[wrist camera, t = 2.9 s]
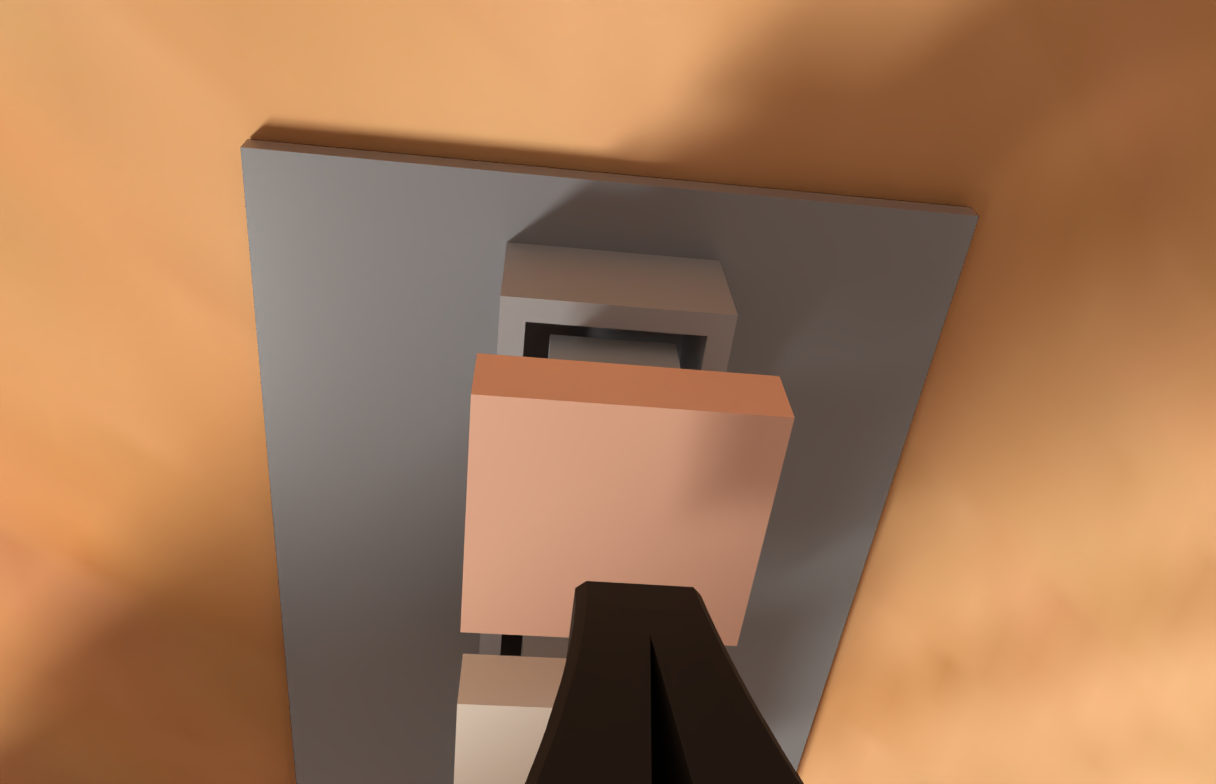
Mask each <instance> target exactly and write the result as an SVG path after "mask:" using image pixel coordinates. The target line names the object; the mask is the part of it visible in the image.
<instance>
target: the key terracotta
mask: <svg viewBox="0 0 1216 784" xmlns="http://www.w3.org/2000/svg"><path fill="white" fill-rule="evenodd" d="M794 418H795V417H794V414H793V412H792V409H791V406H790V403H789V401H788V398H787V395H786V393H785V390H784V387H783V384H782V382H781V379H780V376H771V375H758V374H744V373H731V372H718V371H705V370H692V369H681V368H680V363H679V358H678V353H677V348H676V344H667V343H654V342H642V341H629V340H616V339H603V338H591V337H578V336H565V335H552V334H550V341H549V352H548V359H547V358H534V357H521V356H508V355H495V354H482V353H477V357H476V364H475V370H474V377H473V384H472V391H471V405H470V427H469V450H468V472H467V494H466V517H465V539H464V562H463V584H462V607H461V629H460V632H466V633H486V634H506V635H526V636H546V637H566V638H569V633H570V625H571V617H572V609H573V601H574V593H575V588H576V587H578V586H579V585H581V584H582V583H584V582H585V581H597V582H614V583H632V584H649V585H667V586H684V587H694V588H695V589H696V590H697V591H698V593H699V594H700V595H701V596H702V599H703V601H704V603H705V606H706V608H707V610H708V612H709V614H710V617H711V619H712V621H713V623H714V625H715V627H716V629H717V631H718V633H719V636H720V638H721V640H722V642H723V644H724V645H727V646H737V643H738V639H739V636H740V632H741V628H742V624H743V620H744V616H745V612H746V608H747V604H748V600H749V596H750V592H751V588H752V584H753V580H754V576H755V572H756V568H757V564H758V561H759V557H760V553H761V549H762V545H763V541H764V537H765V533H766V529H767V525H768V521H769V517H770V513H771V509H772V505H773V501H774V497H775V493H776V489H777V485H778V482H779V478H780V474H781V470H782V466H783V462H784V458H785V454H786V450H787V446H788V442H789V438H790V434H791V430H792V426H793V422H794Z"/></svg>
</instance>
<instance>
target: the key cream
mask: <svg viewBox="0 0 1216 784" xmlns="http://www.w3.org/2000/svg"><path fill="white" fill-rule="evenodd" d="M568 640H569V638H566V637H546V636H526V635H523V637H522V648H521V656H504V655H483V654H463V657H462V666H461V675H460V683H459V692H458V701H457V719H456V742H455V764H454V784H525V782H526V779H527V777H528V774H529V772H530V769H531V767H532V764H533V762H534V759H535V757H536V754H537V752H538V749H539V747H540V744H541V741H542V738H543V735H544V733H545V730H546V727H547V723H548V720H549V717H550V714H551V711H552V708H553V704H554V701H555V698H556V695H557V692H558V689H559V685H560V682H561V679H562V675H563V671H564V667H565V663H566V656H567V648H568Z"/></svg>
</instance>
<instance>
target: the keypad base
mask: <svg viewBox="0 0 1216 784" xmlns="http://www.w3.org/2000/svg"><path fill="white" fill-rule="evenodd" d="M241 159H242V170H243V181H244V193H245V204H246V216H247V227H248V238H249V250H250V261H251V273H252V284H253V295H254V307H255V318H256V330H257V341H258V352H259V364H260V375H261V387H262V398H263V409H264V421H265V432H266V444H267V455H268V466H269V478H270V489H271V501H272V512H273V523H274V535H275V546H276V558H277V569H278V580H279V592H280V603H281V615H282V626H283V637H284V649H285V660H286V672H287V683H288V694H289V706H290V717H291V729H292V740H293V751H294V763H295V774H296V784H454V764H455V742H456V719H457V701H458V692H459V683H460V675H461V666H462V657H463V654H483V655H504V656H521V648H522V637H523V635H506V634H486V633H466V632H460V629H461V607H462V584H463V562H464V539H465V517H466V494H467V472H468V450H469V427H470V405H471V391H472V384H473V377H474V370H475V364H476V357H477V353H482V354H495V355H508V356H521V357H534V358H547V359H548V352H549V341H550V334H552V335H565V336H578V337H591V338H603V339H616V340H629V341H642V342H654V343H667V344H676V348H677V353H678V358H679V363H680V368H681V369H692V370H705V371H718V372H731V373H744V374H758V375H771V376H780V379H781V382H782V384H783V387H784V390H785V393H786V395H787V398H788V401H789V403H790V406H791V409H792V412H793V414H794V417H795V418H794V422H793V426H792V430H791V434H790V438H789V442H788V446H787V450H786V454H785V458H784V462H783V466H782V470H781V474H780V478H779V482H778V485H777V489H776V493H775V497H774V501H773V505H772V509H771V513H770V517H769V521H768V525H767V529H766V533H765V537H764V541H763V545H762V549H761V553H760V557H759V561H758V564H757V568H756V572H755V576H754V580H753V584H752V588H751V592H750V596H749V600H748V604H747V608H746V612H745V616H744V620H743V624H742V628H741V632H740V636H739V639H738V643H737V646H727V645H724V646H725V648H726V650H727V652H728V654H729V656H730V657H731V659H732V661H733V663H734V665H735V667H736V669H737V671H738V673H739V675H740V676H741V678H742V680H743V682H744V684H745V686H746V688H747V689H748V691H749V693H750V695H751V697H752V698H753V700H754V702H755V704H756V706H757V707H758V709H759V711H760V712H761V714H762V716H763V718H764V719H765V721H766V723H767V724H768V726H769V728H770V729H771V731H772V733H773V734H774V736H775V738H776V739H777V741H778V743H779V745H780V746H781V748H782V750H783V751H784V753H785V755H786V756H787V758H788V760H789V761H790V763H791V764H792V766H793V767H794V769H795V771H797V768H798V765H799V762H800V759H801V756H802V753H803V750H804V747H805V744H806V741H807V738H808V735H809V732H810V729H811V726H812V723H813V720H814V716H815V713H816V710H817V707H818V704H819V701H820V698H821V695H822V692H823V689H824V686H825V683H826V680H827V677H828V674H829V671H830V668H831V665H832V662H833V659H834V656H835V653H836V650H837V647H838V644H839V641H840V638H841V634H842V631H843V628H844V625H845V622H846V619H847V616H848V613H849V610H850V607H851V604H852V601H853V598H854V595H855V592H856V589H857V586H858V583H859V580H860V577H861V574H862V571H863V568H864V565H865V562H866V559H867V556H868V552H869V549H870V546H871V543H872V540H873V537H874V534H875V531H876V528H877V525H878V522H879V519H880V516H881V513H882V510H883V507H884V504H885V501H886V498H887V495H888V492H889V489H890V486H891V483H892V480H893V477H894V474H895V470H896V467H897V464H898V461H899V458H900V455H901V452H902V449H903V446H904V443H905V440H906V437H907V434H908V431H909V428H910V425H911V422H912V419H913V416H914V413H915V410H916V407H917V404H918V401H919V398H920V395H921V391H922V388H923V385H924V382H925V379H926V376H927V373H928V370H929V367H930V364H931V361H932V358H933V355H934V352H935V349H936V346H937V343H938V340H939V337H940V334H941V331H942V328H943V325H944V322H945V319H946V316H947V313H948V309H949V306H950V303H951V300H952V297H953V294H954V291H955V288H956V285H957V282H958V279H959V276H960V273H961V270H962V267H963V264H964V261H965V258H966V255H967V252H968V249H969V246H970V243H971V240H972V237H973V234H974V231H975V227H976V224H977V221H978V218H979V216H978V215H977V214H976V212H975V211H974V210H973V209H972V208H971V207H961V206H950V205H939V204H929V203H918V202H908V201H897V200H886V199H876V198H865V197H854V196H844V195H833V194H823V193H812V192H801V191H791V190H780V189H770V188H759V187H748V186H738V185H727V184H717V183H706V182H695V181H685V180H674V179H664V178H653V177H642V176H632V175H621V174H611V173H600V172H589V171H579V170H568V169H557V168H547V167H536V166H526V165H515V164H504V163H494V162H483V161H473V160H462V159H451V158H441V157H430V156H420V155H409V154H398V153H388V152H377V151H367V150H356V149H345V148H335V147H324V146H314V145H303V144H292V143H282V142H271V141H260V140H250V139H247V140H246V142H245V143H244V144H243V145H242V146H241Z"/></svg>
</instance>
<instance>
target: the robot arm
mask: <svg viewBox="0 0 1216 784" xmlns="http://www.w3.org/2000/svg"><path fill="white" fill-rule="evenodd" d="M525 784H804V783H803V782H802V780H801V779H800V777H799V775H798V774H797V772H796V771H795V769H794V767H793V766H792V764H791V763H790V761H789V760H788V758H787V756H786V755H785V753H784V751H783V750H782V748H781V746H780V745H779V743H778V741H777V739H776V738H775V736H774V734H773V733H772V731H771V729H770V728H769V726H768V724H767V723H766V721H765V719H764V718H763V716H762V714H761V712H760V711H759V709H758V707H757V706H756V704H755V702H754V700H753V698H752V697H751V695H750V693H749V691H748V689H747V688H746V686H745V684H744V682H743V680H742V678H741V676H740V675H739V673H738V671H737V669H736V667H735V665H734V663H733V661H732V659H731V657H730V656H729V654H728V652H727V650H726V648H725V646H724V644H723V642H722V640H721V638H720V636H719V633H718V631H717V629H716V627H715V625H714V623H713V621H712V619H711V617H710V614H709V612H708V610H707V608H706V606H705V603H704V601H703V599H702V596H701V595H700V594H699V593H698V591H697V590H696V589H695V588H694V587H684V586H667V585H649V584H632V583H614V582H597V581H585V582H584V583H582V584H581V585H579V586H578V587H576V588H575V593H574V601H573V609H572V617H571V625H570V633H569V640H568V648H567V656H566V663H565V667H564V671H563V675H562V679H561V682H560V685H559V689H558V692H557V695H556V698H555V701H554V704H553V708H552V711H551V714H550V717H549V720H548V723H547V727H546V730H545V733H544V735H543V738H542V741H541V744H540V747H539V749H538V752H537V754H536V757H535V759H534V762H533V764H532V767H531V769H530V772H529V774H528V777H527V779H526V782H525Z"/></svg>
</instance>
